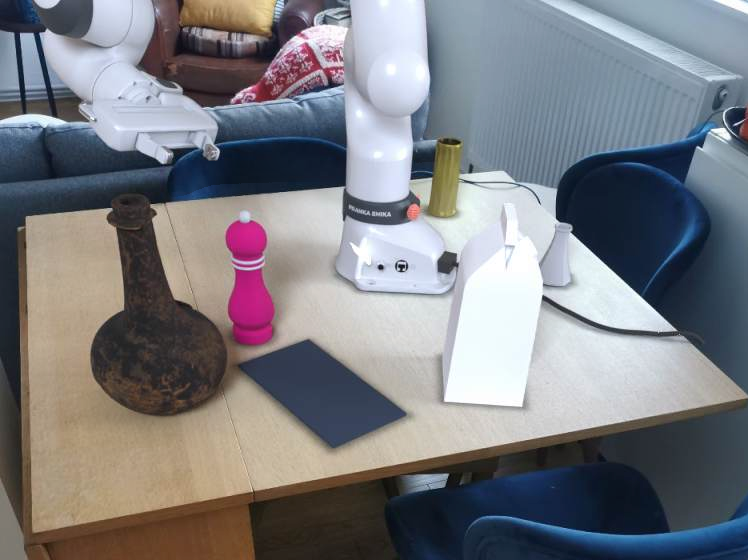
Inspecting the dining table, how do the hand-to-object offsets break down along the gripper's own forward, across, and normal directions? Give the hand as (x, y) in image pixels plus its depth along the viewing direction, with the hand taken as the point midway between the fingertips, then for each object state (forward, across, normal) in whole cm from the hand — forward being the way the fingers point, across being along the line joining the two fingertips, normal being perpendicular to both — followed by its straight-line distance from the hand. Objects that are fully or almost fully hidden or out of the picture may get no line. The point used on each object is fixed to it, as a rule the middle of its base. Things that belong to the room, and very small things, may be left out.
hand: (192, 157), depth 111 cm
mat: (+36, -3, +13) cm, 39 cm away
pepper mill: (+19, +2, +18) cm, 27 cm away
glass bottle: (+22, -18, +22) cm, 36 cm away
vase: (+13, +64, +8) cm, 66 cm away
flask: (+44, +52, -1) cm, 68 cm away
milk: (+52, +14, +4) cm, 54 cm away
